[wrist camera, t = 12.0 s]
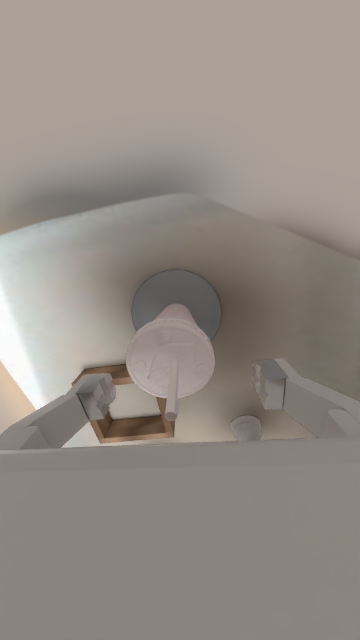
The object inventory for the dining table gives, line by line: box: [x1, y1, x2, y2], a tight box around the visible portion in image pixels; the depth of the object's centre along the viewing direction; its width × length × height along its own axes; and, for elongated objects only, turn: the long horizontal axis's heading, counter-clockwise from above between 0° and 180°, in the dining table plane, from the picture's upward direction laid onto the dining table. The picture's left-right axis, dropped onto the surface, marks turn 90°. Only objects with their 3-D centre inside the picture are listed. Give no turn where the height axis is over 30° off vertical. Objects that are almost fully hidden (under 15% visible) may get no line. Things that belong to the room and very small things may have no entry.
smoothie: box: [126, 304, 215, 421], centre depth 14 cm, size 6×6×14 cm
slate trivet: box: [132, 270, 221, 341], centre depth 21 cm, size 11×11×1 cm
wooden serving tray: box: [72, 364, 175, 443], centre depth 25 cm, size 12×12×3 cm
